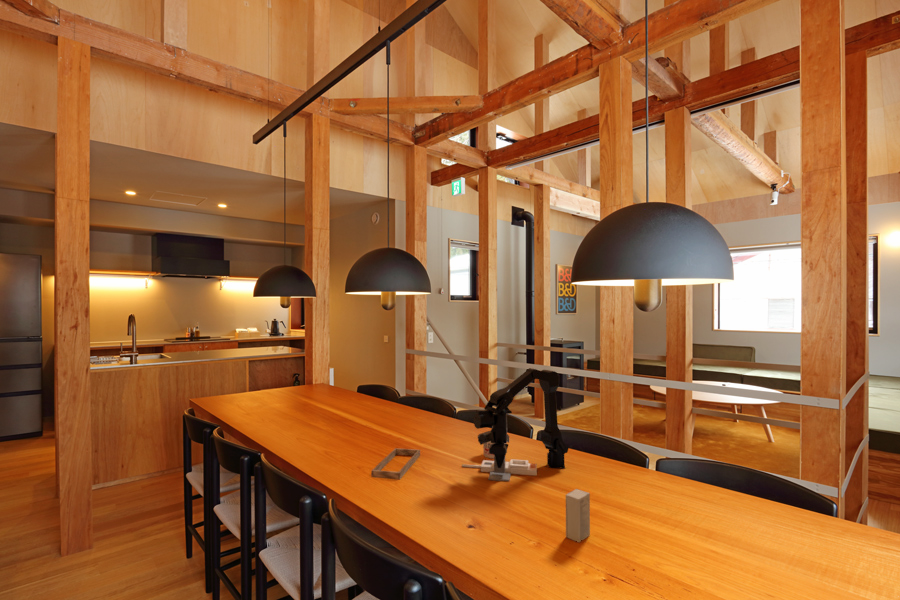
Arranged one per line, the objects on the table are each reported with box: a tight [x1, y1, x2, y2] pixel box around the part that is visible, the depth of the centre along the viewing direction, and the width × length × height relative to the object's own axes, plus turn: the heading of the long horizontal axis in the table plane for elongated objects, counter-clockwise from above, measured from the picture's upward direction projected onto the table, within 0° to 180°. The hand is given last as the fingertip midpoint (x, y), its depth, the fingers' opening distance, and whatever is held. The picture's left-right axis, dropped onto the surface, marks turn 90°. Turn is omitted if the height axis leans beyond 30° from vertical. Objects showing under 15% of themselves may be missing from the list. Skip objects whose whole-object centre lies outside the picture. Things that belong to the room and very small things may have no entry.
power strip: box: [461, 458, 538, 476], centre depth 179 cm, size 30×8×4 cm, turn 78°
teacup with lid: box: [482, 441, 506, 459], centre depth 195 cm, size 12×9×12 cm
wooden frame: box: [370, 447, 421, 480], centre depth 183 cm, size 12×29×2 cm, turn 168°
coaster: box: [487, 471, 512, 482], centre depth 171 cm, size 8×8×1 cm
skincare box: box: [565, 488, 591, 543], centre depth 125 cm, size 6×4×12 cm
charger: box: [493, 455, 506, 473], centre depth 171 cm, size 4×4×6 cm
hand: (499, 465), depth 171 cm, fingers closed on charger, 4 cm apart
